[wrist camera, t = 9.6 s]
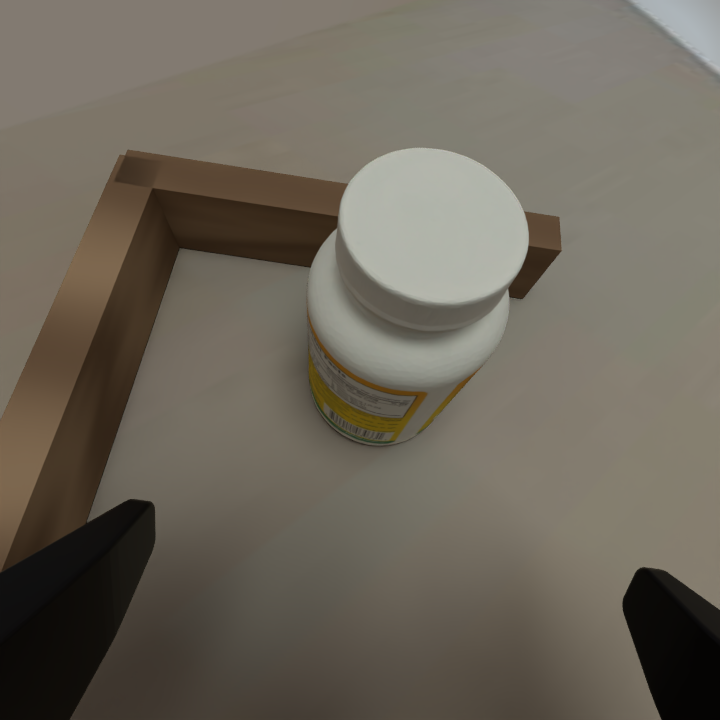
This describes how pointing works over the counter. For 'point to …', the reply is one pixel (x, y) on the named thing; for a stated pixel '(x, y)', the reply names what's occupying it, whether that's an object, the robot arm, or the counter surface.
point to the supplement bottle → (410, 291)
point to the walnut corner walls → (148, 317)
